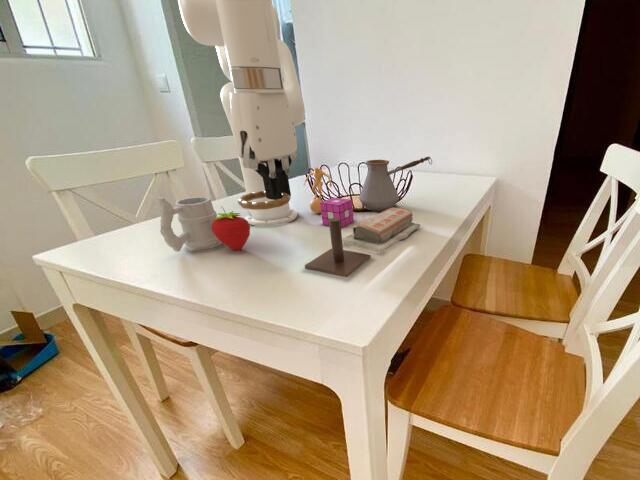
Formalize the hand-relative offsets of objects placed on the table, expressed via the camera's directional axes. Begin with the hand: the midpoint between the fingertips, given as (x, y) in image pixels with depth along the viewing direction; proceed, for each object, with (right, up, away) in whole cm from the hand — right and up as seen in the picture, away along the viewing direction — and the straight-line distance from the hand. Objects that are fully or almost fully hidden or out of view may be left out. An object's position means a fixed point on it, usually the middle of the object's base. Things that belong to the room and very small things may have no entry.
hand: (278, 197), depth 63 cm
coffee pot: (+20, +5, +36) cm, 41 cm away
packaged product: (+18, -5, +16) cm, 25 cm away
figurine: (-1, +4, +33) cm, 33 cm away
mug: (-21, -9, +10) cm, 25 cm away
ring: (-1, -1, -3) cm, 3 cm away
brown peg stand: (+11, -12, +3) cm, 17 cm away
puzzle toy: (+6, -1, +25) cm, 25 cm away
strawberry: (-12, -10, +8) cm, 17 cm away
